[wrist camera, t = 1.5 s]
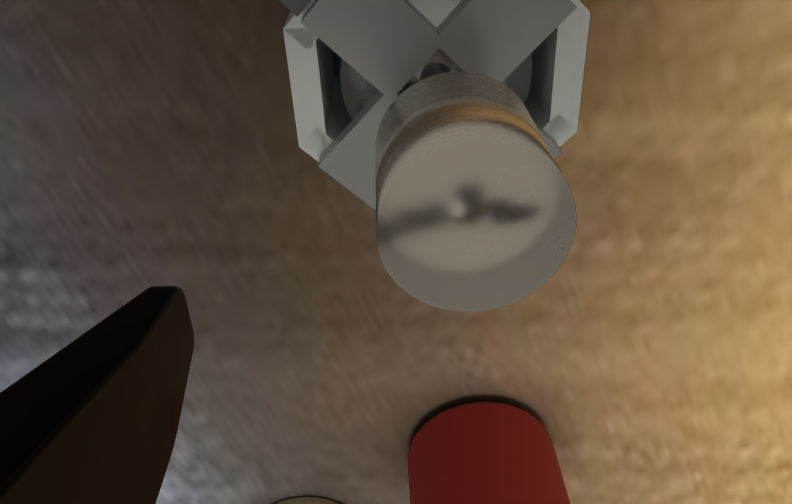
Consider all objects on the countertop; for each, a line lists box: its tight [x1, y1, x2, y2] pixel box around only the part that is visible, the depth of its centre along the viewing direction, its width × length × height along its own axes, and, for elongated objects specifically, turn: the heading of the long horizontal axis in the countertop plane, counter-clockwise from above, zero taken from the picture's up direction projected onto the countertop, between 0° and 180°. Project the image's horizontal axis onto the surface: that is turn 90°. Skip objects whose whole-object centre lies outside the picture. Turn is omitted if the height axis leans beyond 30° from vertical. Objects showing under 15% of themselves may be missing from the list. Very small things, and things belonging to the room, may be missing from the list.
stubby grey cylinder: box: [340, 0, 577, 312], centre depth 13 cm, size 5×5×8 cm
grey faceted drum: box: [279, 0, 590, 209], centre depth 17 cm, size 8×7×6 cm
